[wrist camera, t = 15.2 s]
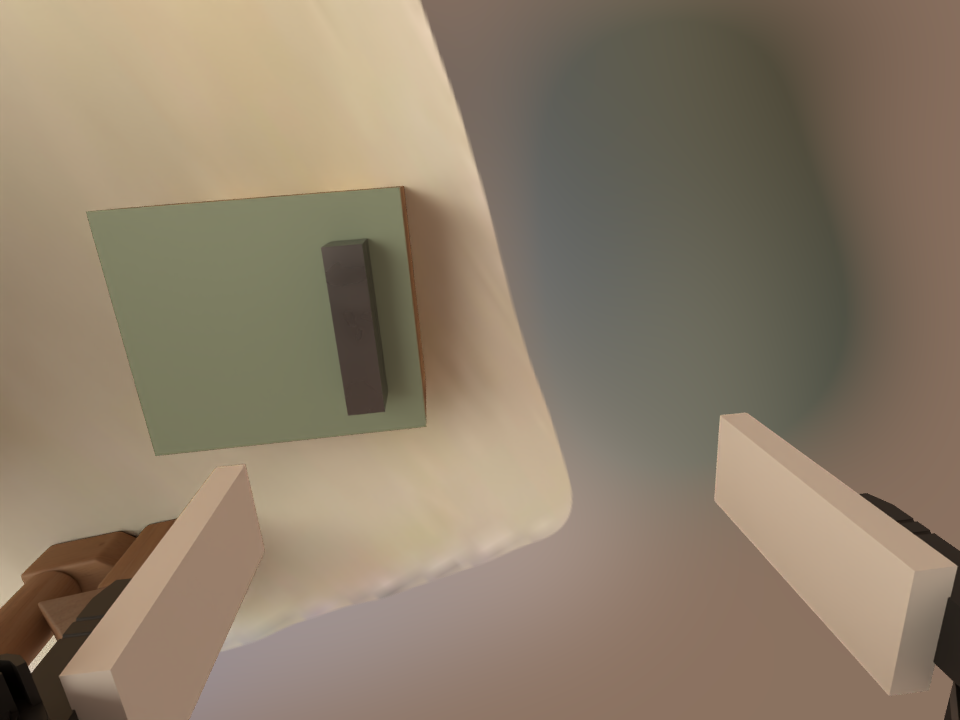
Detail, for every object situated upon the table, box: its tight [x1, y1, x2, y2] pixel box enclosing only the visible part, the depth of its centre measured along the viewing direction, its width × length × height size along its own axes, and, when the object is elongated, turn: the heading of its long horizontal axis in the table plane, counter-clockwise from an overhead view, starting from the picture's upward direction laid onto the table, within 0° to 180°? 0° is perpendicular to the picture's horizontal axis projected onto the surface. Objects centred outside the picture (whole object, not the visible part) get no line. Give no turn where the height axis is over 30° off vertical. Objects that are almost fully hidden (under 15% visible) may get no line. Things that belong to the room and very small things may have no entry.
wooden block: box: [0, 519, 177, 666], centre depth 34 cm, size 4×11×18 cm, turn 101°
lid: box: [86, 187, 426, 456], centre depth 30 cm, size 16×14×4 cm
